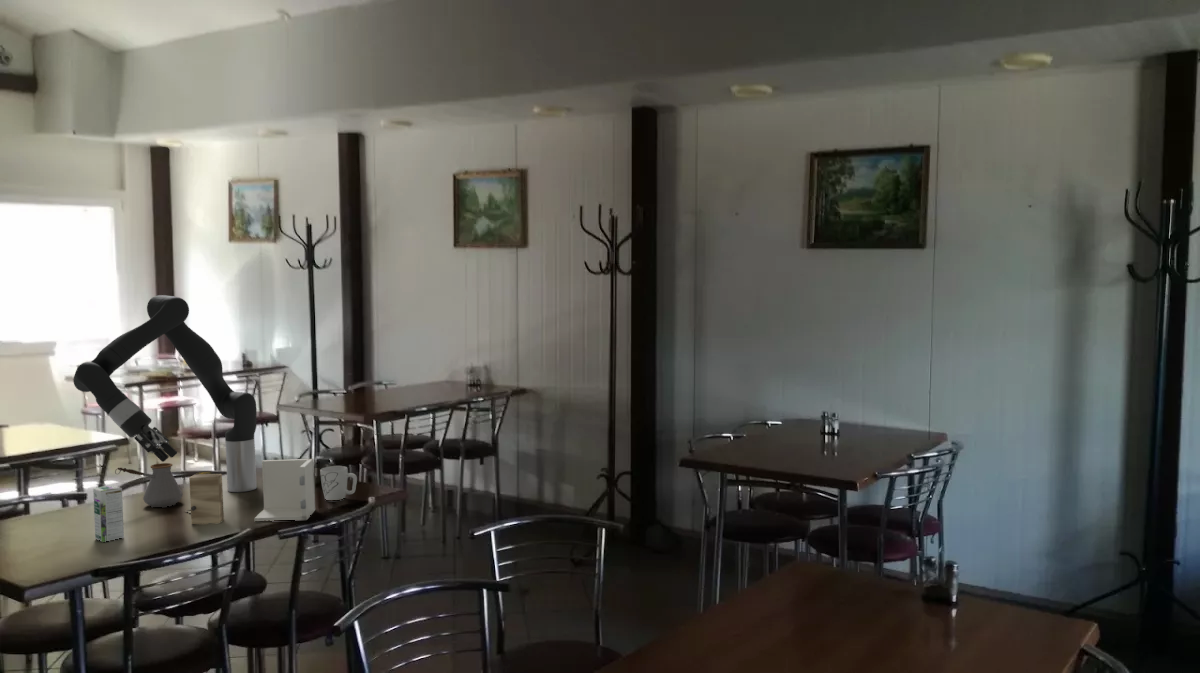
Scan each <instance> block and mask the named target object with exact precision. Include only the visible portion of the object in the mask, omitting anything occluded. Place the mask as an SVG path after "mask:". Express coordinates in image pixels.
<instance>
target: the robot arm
mask: <svg viewBox="0 0 1200 673" xmlns="http://www.w3.org/2000/svg"><path fill="white" fill-rule="evenodd" d="M146 311H147V315H148V317H149V319H148V320H147V321H145V322H144V323H142V324H140V325H138V326H137V327H134V328H133V329H131V330H130V329H129V330H128V331H127V332H124V333H122V334H121V335H119V336H118V337H116V338H114V339H113V340H112V341H111V342H110V343H109V344H107V345H106V346H104V348H102V349H101V350H100V351H99V352H98V354H97V356H96V357H95V358H93V360H91V361H85V362H82V363H81V364H79V365H78V367H77V368H76V369H75V373H74V374H73V380H72V381H73V386H74V387H75V389H77V390H78V391H80V392H83V393H89V392H90V393H91V394H92V395H93V396H94V398H95V401H96V403H97V405H98V407H100V409H102V410H103V412H105V413H106V414H107V415H108V416H109V417H110V419H111V420H112V421H113V423H114V424H115V425H117V427H118V428H120V429H121V430H122V431H123V432H124V433H125V434H126V435H127V437H129V438H133V439H134V440H135V441H136V442H137V443H138V444H139V445H140V446H141V447H142V448H143V449H144V450H145V451H146V452H147V453H151V454H153V455H155V456H156V457H157V458H158V459H159V460H160V461H161V462H162V463H164V462H166V460H168V458H169V457H170V458H174V457H175V456H176V455H177V454H178V451H177V450H176V449H174V447H173V446H172V445H170V439H169V438H167V436H165V434H163V433H162V432H161V431H160V430H159V429H158V427H156V426H154V427H153V428H152V427H150V426H149V425H150V424H151V423H152V418H150V417H149V416H148V414H146V413H145V411H143V409H141V408H140V407H139V405H137V404H136V403H135V402H134V401H133V400H131V399H130V398H129V397H128V396H127V395H126V394H125V393H124V392H123V391H122V390H121V389H120V388H118V387H117V385H116V384H115V382H114V381H113V379H112V378H111V377H110V376H112V374H113V373H114V372H116V370H118V369H119V368H120V367H122V366H124V365H125V364H126V363H127V362H128V361H129V360H130V359H131V358H133V357H134V356H135V355H136V354H137V353H139V352H140V351H141V350H142V349H144V348H145V347H147V346H148V345H149V344H151V343H152V342H154V341H156V340H157V339H159V338H160V337H161V336H163V335H165V336H166V337H167V339H168V341H170V342H171V344H172V345H173V347H174V348H175V350H176V352H177V353H178V354H179V355H180V357H181V358H182V359H183V360H184V362H185V363H186V365H187V366H188V368H190V370H191V372H192V373H193V374H194V375H195V377H196V378H197V380H199V382H200V384H201V385H202V387H203V388H204V389H205V390H206V391H207V393H208V394H209V397H210V398H211V400H212V402H213V403H214V405H215V407H216V409H217V411H218V412H219V414H221V416H223V417H224V418H226V419H229V420H233V427H232V428H231V429H228V430H227V431H226V432H225V434H224V438H225V439H224V440H225V443H224V444H225V461H226V481H227V482H226V483H227V484H226V485H227V491H228V492H229V493H231V492H232V493H244V492H249V491H254V490H256V489H257V471H256V470H257V468H256V467H257V465H256V444H255V433H256V430H257V410H258V409H257V403H256V402H257V401H256V399H255V397H254V396H253V394H251V393H249V392H243V391H242V392H240V391H234V390H233V389H232V388H230V385H228V383H227V382H226V380H225V378H224V375H223V374H224V373H223V372H224V371H223V363H222V361H221V358H220V356H219V355H218V354H217V352H216V351H215V350H214V348H213V346H212V345H211V344H209V342H208V341H206V339H204V338H203V337H202V336H200V335H199V334H198V333H196V332H195V331H194V330H193V329H191V328H190V327H189V326H188V324H186V322H185V321H186V320H187V318H188V317H189V314H190V308H189V304H188V302H187V301H186V300H185V299H184V298H181V297H178V296H173V295H166V294H163V295H162V294H159V295H154V296H153V297H151V298H150V299H149V300H148V302H147V305H146Z"/></svg>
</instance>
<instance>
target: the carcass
mask: <svg viewBox="0 0 1200 673" xmlns="http://www.w3.org/2000/svg"><path fill="white" fill-rule="evenodd" d="M261 464H262V465H261V466H262V467H261V472H262V488H263V489H262V491H263V493H262V494H263V510H261V511H260V512H259V513H258V514H257V515H256V516H255V517H254V522H255V521H264V520H266V521H268V520H270V521H272V522H275V521H274V520H295V521H297V522H298V521H307V520H308V519H309V518H310V517H311V516H312V515H313V514H314V512H315V511H316V491H315V469H314V468H315V466H314V458H299V459H298V458H297V459H295V458H293V459H271V460H270V459H267V460H266V459H264V460H262V461H261ZM310 515H311V516H310ZM295 521H294V522H295Z"/></svg>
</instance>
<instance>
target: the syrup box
mask: <svg viewBox="0 0 1200 673" xmlns="http://www.w3.org/2000/svg"><path fill="white" fill-rule="evenodd" d="M92 490H93V491H92V492H93V515H94V516H93V518H94V519H93V520H94V537H95V538H94V539H95V540H96V539H97V540H96V541H99V540H100V541H99V542H102V543H103V542H105V543H107V542H106V541H109V542H111V541H110V540H114V541H116V540H115V539H118V540H120V539H119V538H122V539H124V538H125V535H124V534H125V533H124V528H125V527H124V508H123V488H122V487H119V486H115V485H104V486H99V487H95V488H93V489H92Z"/></svg>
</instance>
